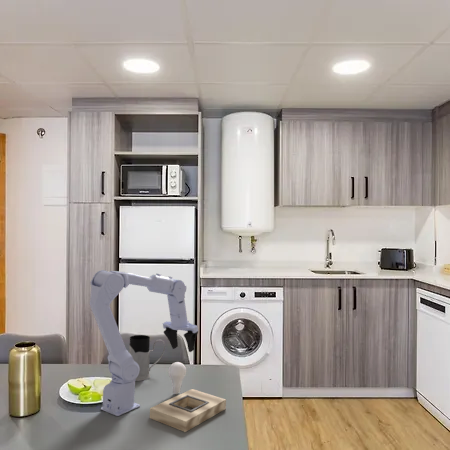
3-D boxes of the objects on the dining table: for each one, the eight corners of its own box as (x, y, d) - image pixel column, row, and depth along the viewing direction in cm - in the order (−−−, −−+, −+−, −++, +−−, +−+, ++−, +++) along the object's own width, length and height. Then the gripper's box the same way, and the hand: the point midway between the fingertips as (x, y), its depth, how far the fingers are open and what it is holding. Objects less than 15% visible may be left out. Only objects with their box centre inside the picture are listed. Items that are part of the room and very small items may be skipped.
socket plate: (185, 432, 121) (185, 420, 121) (149, 418, 129) (150, 407, 129) (225, 408, 137) (226, 398, 137) (191, 397, 145) (192, 388, 145)
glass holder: (125, 373, 167) (127, 335, 167) (162, 371, 171) (163, 333, 171) (127, 381, 158) (129, 340, 159) (165, 378, 163) (167, 339, 163)
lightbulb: (184, 398, 145) (185, 365, 145) (166, 397, 145) (167, 364, 145) (186, 391, 151) (187, 360, 151) (169, 390, 151) (170, 359, 151)
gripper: (201, 310, 149) (206, 347, 150) (170, 306, 157) (175, 342, 159) (188, 317, 143) (193, 356, 145) (156, 313, 151) (162, 349, 153)
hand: (183, 349), depth 151 cm, fingers open, 7 cm apart
